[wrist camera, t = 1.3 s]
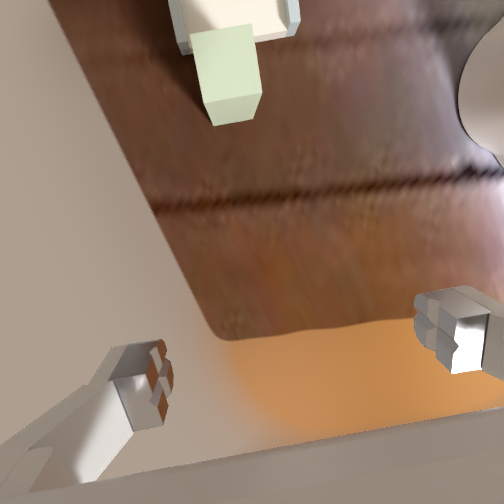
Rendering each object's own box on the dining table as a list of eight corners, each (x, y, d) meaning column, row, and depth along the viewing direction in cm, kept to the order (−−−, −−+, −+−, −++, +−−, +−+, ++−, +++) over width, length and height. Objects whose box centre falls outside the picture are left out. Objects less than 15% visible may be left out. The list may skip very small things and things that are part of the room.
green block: (245, 74, 31) (251, 23, 20) (252, 118, 32) (262, 92, 22) (204, 81, 31) (189, 34, 20) (213, 126, 32) (203, 103, 21)
